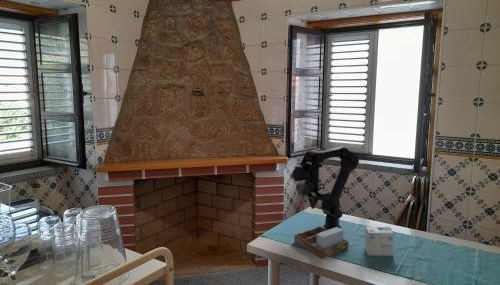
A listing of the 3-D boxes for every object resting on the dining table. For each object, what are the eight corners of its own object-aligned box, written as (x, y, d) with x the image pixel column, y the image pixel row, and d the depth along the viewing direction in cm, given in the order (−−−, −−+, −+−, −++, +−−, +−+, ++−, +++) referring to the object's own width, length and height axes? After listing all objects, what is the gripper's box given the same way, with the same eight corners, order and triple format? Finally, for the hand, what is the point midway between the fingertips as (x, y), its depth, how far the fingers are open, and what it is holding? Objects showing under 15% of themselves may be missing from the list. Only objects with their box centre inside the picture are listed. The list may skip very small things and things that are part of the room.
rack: (319, 233, 175) (319, 225, 174) (348, 248, 159) (348, 239, 158) (294, 242, 167) (294, 233, 166) (321, 259, 151) (321, 249, 150)
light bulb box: (389, 248, 158) (390, 225, 156) (393, 256, 151) (394, 232, 149) (364, 248, 159) (364, 225, 157) (367, 255, 152) (368, 232, 150)
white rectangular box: (336, 243, 162) (336, 226, 161) (343, 246, 159) (343, 230, 157) (316, 250, 156) (316, 233, 155) (322, 254, 153) (323, 237, 151)
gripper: (287, 175, 173) (287, 206, 176) (313, 185, 157) (313, 218, 160) (305, 171, 178) (305, 201, 181) (331, 180, 163) (331, 213, 166)
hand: (312, 208), depth 172 cm, fingers closed
